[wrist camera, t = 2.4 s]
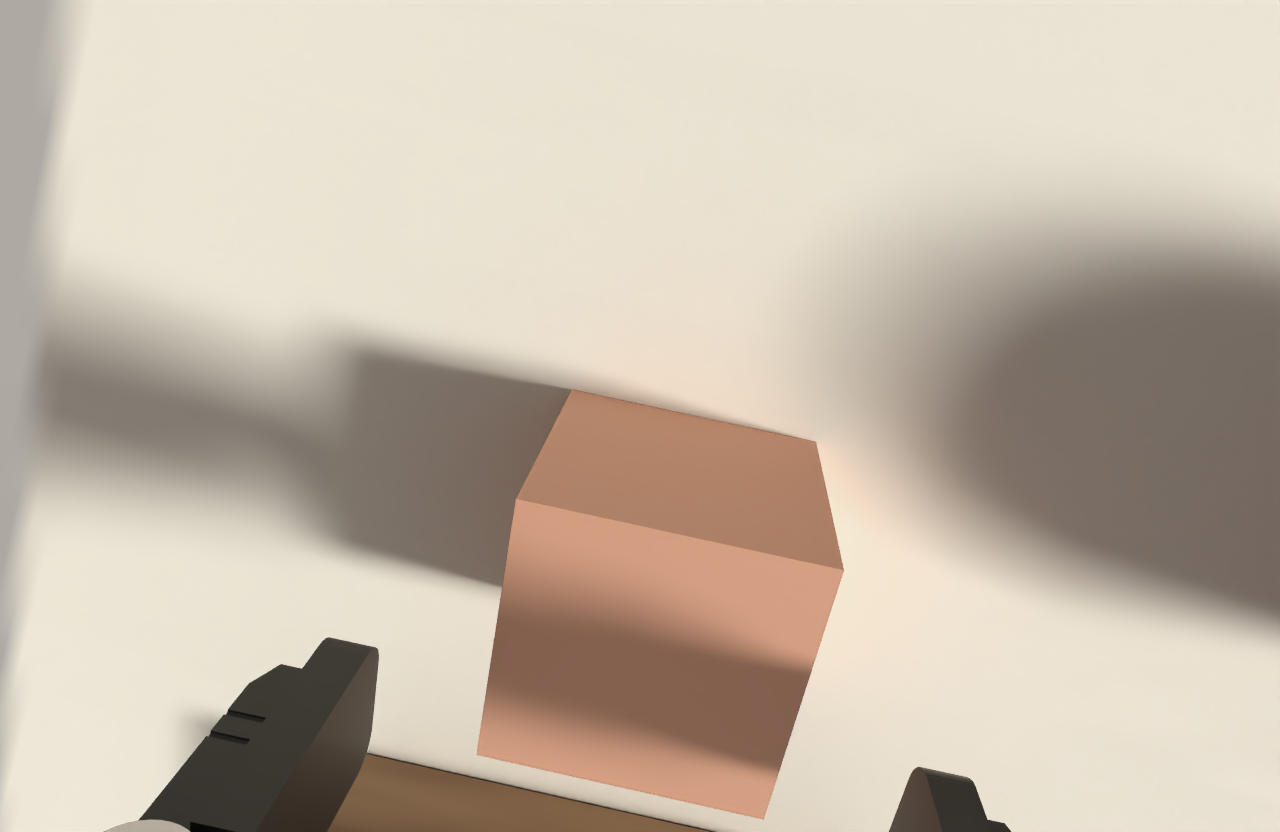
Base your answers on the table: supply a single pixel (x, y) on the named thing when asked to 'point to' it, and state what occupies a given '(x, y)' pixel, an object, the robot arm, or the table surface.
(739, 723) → the terracotta cube
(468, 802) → the walnut riser
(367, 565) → the table surface
